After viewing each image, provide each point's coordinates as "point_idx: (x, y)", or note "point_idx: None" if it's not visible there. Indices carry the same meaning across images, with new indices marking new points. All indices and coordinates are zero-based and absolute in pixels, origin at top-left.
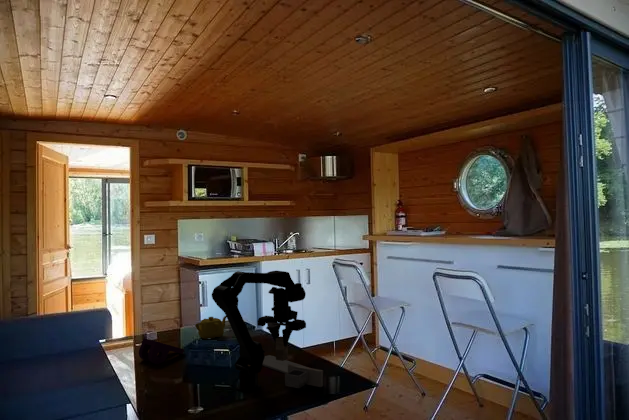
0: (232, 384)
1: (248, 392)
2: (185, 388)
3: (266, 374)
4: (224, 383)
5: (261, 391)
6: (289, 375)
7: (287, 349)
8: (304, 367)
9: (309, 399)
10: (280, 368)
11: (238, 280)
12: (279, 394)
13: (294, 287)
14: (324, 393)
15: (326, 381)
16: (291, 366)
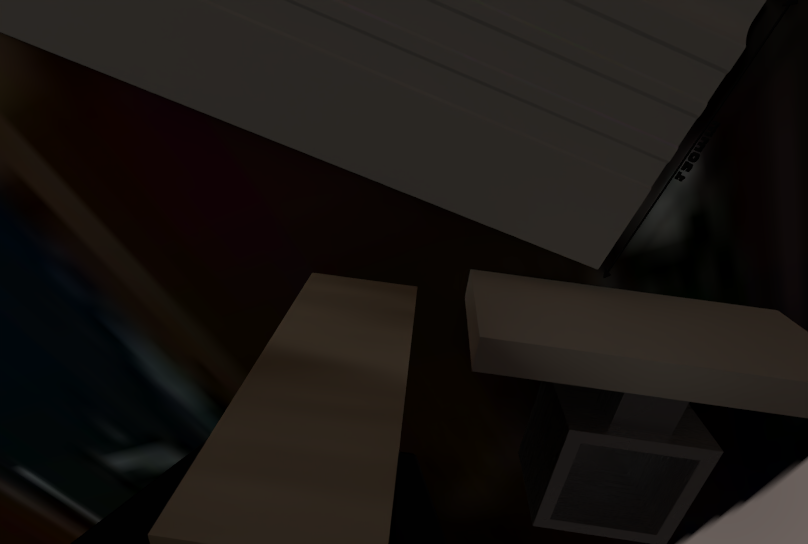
0: (179, 439)
1: None
2: (34, 520)
3: (241, 238)
4: (129, 439)
5: None
6: (575, 528)
7: (408, 363)
8: (668, 375)
9: (702, 495)
10: (283, 112)
11: None
12: (507, 481)
13: None
14: None
15: (804, 215)
16: (517, 374)
